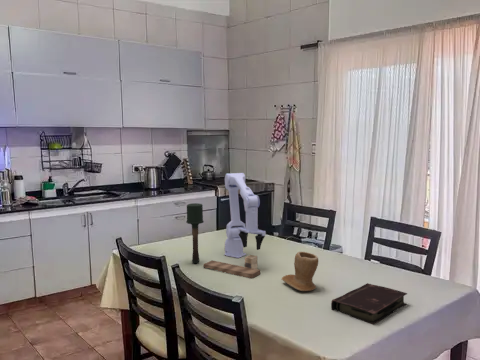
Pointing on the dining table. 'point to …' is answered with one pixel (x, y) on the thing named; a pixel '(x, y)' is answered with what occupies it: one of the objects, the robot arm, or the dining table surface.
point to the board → (232, 269)
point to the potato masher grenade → (195, 226)
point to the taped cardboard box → (251, 261)
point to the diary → (369, 303)
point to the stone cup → (303, 272)
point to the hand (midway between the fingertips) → (251, 248)
